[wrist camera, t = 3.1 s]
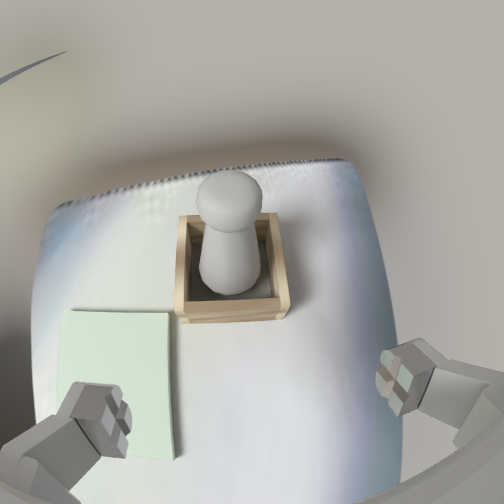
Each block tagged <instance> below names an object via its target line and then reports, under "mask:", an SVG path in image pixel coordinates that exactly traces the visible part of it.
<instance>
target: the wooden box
mask: <svg viewBox="0 0 504 504" xmlns="http://www.w3.org/2000/svg"><path fill="white" fill-rule="evenodd" d="M205 224H206V223H204V222H203V221H202V219H201V217H200V215H187V216H179V223H178V236H177V250H176V268H175V291H174V312H175V313H176V315H177V317H178V318H179V320H180V321H181V323H182V324H195V323H227V322H247V321H264V320H278V319H283V318H284V316H285V314H286V313H287V311H288V309H289V308H290V306H291V305H290V297H289V290H288V283H287V276H286V269H285V263H284V256H283V250H282V243H281V237H280V230H279V224H278V218H277V213H260V215H259V216H258V217H257V219H256V220H255V222H254V225H255V231H256V236H257V241H265V243H266V251H267V259H268V268H269V276H270V285H271V293H272V298H263V299H244V300H221V301H190V284H191V245H192V244H201V243H203V237H204V230H205Z"/></svg>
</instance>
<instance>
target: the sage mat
mask: <svg viewBox="0 0 504 504" xmlns="http://www.w3.org/2000/svg"><path fill="white" fill-rule="evenodd" d="M76 381H78V382H86V383H89V382H90V383H101V384H114V385H118V386H120V389H121V391H122V393H123V396H122V400H123V401H124V402H126V403H127V404H128V406H129V408H130V410H131V414H132V429H131V432H130V433H129V434H128V435H127V436H125V437H126V439H127V440H128V442H129V444H128V448H127V453H126V456H132V457H139V458H147V459H157V460H169V461H174V460H175V459H176V458H175V448H174V436H173V423H172V407H171V384H170V315H169V314H168V313H120V312H88V311H68V310H63V315H62V322H61V331H60V341H59V354H58V373H57V411H58V410H59V408H60V406H61V404H62V402H63V400H64V398H65V396H66V394H67V392H68V390H69V388H70V387H71V385H72V383H74V382H76Z"/></svg>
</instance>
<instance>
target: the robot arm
mask: <svg viewBox="0 0 504 504" xmlns="http://www.w3.org/2000/svg"><path fill="white" fill-rule="evenodd" d="M380 362H381V363H382V365H381V366H380V367H379V369H378V370H377V373H376V377H375V380H376V386H377V389H378V391H379V393H380V394H381V395H382V396H383V397H386V398H388V399H389V402H388V405H389V406H390V407H391V409H392V410H393V411H394V413H395V414H396V415H397V417H399V416H401V415H404V414H406V413H409V412H411V411H413V410H416V409H418V410H419V411H422V412H423V413H426V414H428V415H430V416H432V417H434V418H436V419H438V420H440V421H442V422H444V423H446V424H449V425H451V426H453V427H455V428H457V429H460V430H459V431H458V433H457V435H456V436H455V437H454V439H453V443H454V445H455V446H456V447H457V448H458V450H457V451H455V452H454V453H452V454H451V455H449V456H448V457H446V458H445V459H443V460H441V461H440V462H439V463H437V464H435V465H434V466H432V467H430V468H428V469H426V470H425V471H423V472H421V473H419V474H418V475H416V476H414V477H412V478H410V479H408V480H406V481H404V482H402V483H400V484H398V485H396V486H394V487H392V488H390V489H387V490H385V491H383V492H381V493H378V494H376V495H373V496H371V497H369V498H366V499H363V500H361V501H358V502H355V503H353V504H504V373H503V372H499V371H495V370H491V369H487V368H482V367H478V366H474V365H470V364H466V363H463V362H459V361H454V360H450V361H448V360H447V359H446V358H445V357H444V356H442V355H441V354H440V353H439V352H438V351H437V350H435V349H434V348H433V347H432V346H431V345H429V344H428V343H427V342H426V341H425V340H424V339H421V338H417V339H415V340H412V341H409V342H407V343H404V344H401V345H398V346H395V347H392V348H388V349H385V350H383V352H382V353H381V356H380ZM122 396H123V393H122V391H121V389H120V386H118V385H114V384H101V383H90V382H89V383H86V382H78V381H76V382H74V383H72V385H71V387H70V388H69V390H68V392H67V394H66V396H65V398H64V400H63V402H62V404H61V406H60V408H59V410H58V412H57V414H56V415H51V416H49V417H48V418H46V419H44V420H43V421H41V422H40V423H38V424H37V425H35V426H34V427H32V428H30V429H29V430H27V431H26V432H24V433H23V434H21V435H19V436H18V437H16V438H15V439H13V440H11V441H10V442H8V443H7V444H5V445H4V446H3V447H2V449H1V451H0V504H81V502H80V501H79V500H78V499H77V498H76V497H75V496H74V495H72V494H71V493H70V492H69V490H70V489H71V488H72V487H73V486H74V485H75V484H76V483H77V482H78V481H79V480H80V479H81V478H82V477H83V476H84V475H85V474H86V473H87V472H88V471H89V470H90V469H91V468H92V466H93V465H94V464H95V463H96V462H97V461H98V460H99V459H100V458H101V456H105V457H114V458H126V453H127V448H128V444H129V442H128V440H127V439H126V437H125V436H127V435H128V434H129V433H130V432H131V429H132V414H131V410H130V408H129V406H128V404H127V403H126V402H124V401H123V400H122Z"/></svg>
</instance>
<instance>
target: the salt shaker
mask: <svg viewBox="0 0 504 504" xmlns="http://www.w3.org/2000/svg"><path fill="white" fill-rule="evenodd" d="M196 204H197V208H198V211H199V214H200V217H201V219H202V221H203V222H204V223H206V224H205V230H204V237H203V244H202V250H201V257H200V263H199V271H200V274H201V277H202V280H203V282H204V283H205V284H206V285H207V286H208V287H209V288H210V289H211V290H212V291H214V292H216V293H219V294H222V295H225V296H231V295H238V294H242V293H243V292H245V291H247V290H249V289H250V288H252V287H253V285H254V284H255V282H256V280H257V279H258V277H259V275H260V269H261V259H260V253H259V248H258V242H257V236H256V231H255V225H254V222H255V220H256V219H257V217H258V216H259V215H260V212H261V208H262V190H261V188H260V186H259V185H258V183H257V181H256V180H255V179H253V178H252V177H251V176H249V175H248V174H246V173H244V172H240V171H235V170H223V171H219V172H217V173H214V174H212V175H210V176H208V177H207V178H206V179H205V180H204V181H203V182H202V183H201V184H200V185H199V189H198V193H197V199H196Z"/></svg>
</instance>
